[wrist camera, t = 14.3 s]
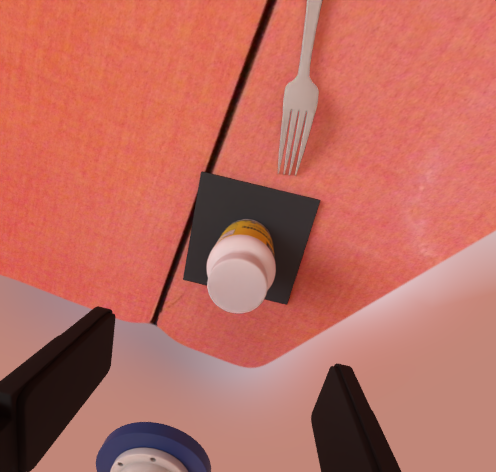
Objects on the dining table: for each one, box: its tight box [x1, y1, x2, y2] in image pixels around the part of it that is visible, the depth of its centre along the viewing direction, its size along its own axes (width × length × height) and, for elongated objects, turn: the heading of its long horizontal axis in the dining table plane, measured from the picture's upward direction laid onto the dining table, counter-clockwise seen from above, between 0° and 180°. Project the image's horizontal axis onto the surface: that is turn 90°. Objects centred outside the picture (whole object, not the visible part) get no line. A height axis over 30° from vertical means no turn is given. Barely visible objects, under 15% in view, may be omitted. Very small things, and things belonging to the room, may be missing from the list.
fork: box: [278, 0, 323, 176], centre depth 20 cm, size 3×21×3 cm, turn 173°
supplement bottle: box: [207, 219, 276, 314], centre depth 20 cm, size 5×5×10 cm
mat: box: [183, 172, 320, 305], centre depth 25 cm, size 12×12×1 cm
